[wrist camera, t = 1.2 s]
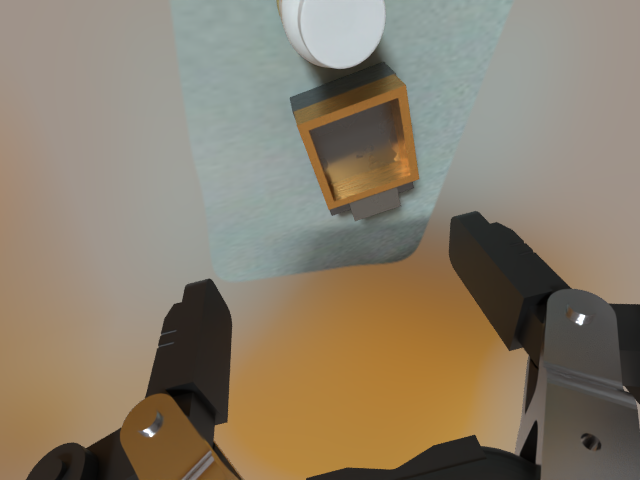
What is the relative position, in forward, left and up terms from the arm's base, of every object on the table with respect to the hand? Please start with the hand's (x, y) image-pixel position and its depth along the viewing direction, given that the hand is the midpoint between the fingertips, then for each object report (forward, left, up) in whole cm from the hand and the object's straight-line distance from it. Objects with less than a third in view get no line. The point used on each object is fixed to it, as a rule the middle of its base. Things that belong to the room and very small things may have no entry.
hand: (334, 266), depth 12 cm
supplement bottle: (-5, +3, -20) cm, 21 cm away
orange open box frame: (+6, +3, -20) cm, 21 cm away
